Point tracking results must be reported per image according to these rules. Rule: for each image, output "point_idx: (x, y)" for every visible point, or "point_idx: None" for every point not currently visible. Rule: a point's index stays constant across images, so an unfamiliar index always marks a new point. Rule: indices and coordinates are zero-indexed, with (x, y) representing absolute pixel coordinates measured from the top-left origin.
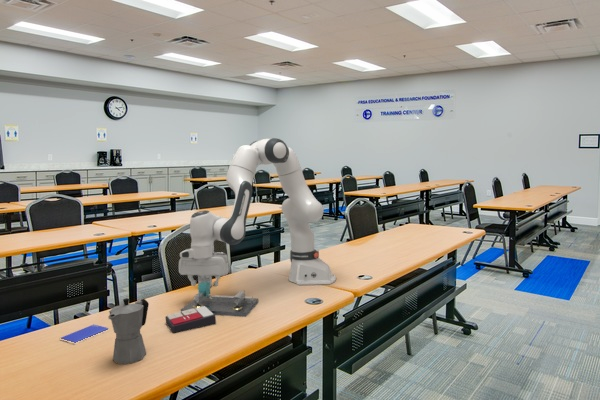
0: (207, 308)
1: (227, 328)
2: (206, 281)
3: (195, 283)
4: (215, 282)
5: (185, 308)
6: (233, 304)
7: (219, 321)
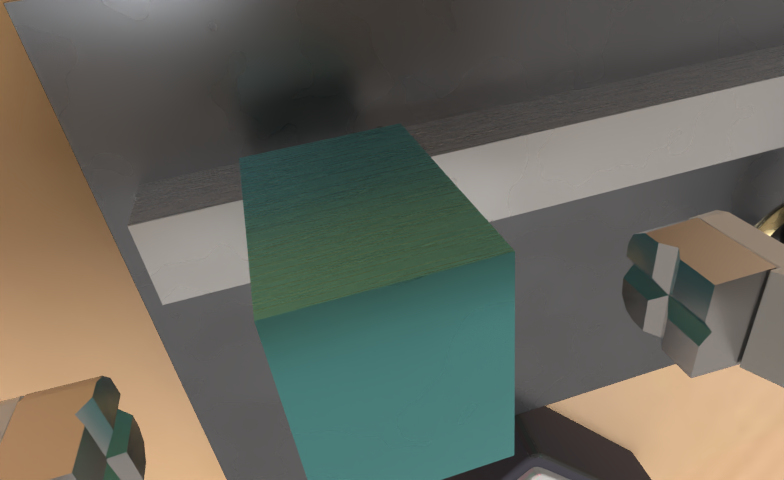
0: (577, 477)
1: (716, 461)
2: (414, 292)
3: (108, 435)
4: (748, 359)
5: (269, 467)
6: (745, 174)
7: (646, 421)
